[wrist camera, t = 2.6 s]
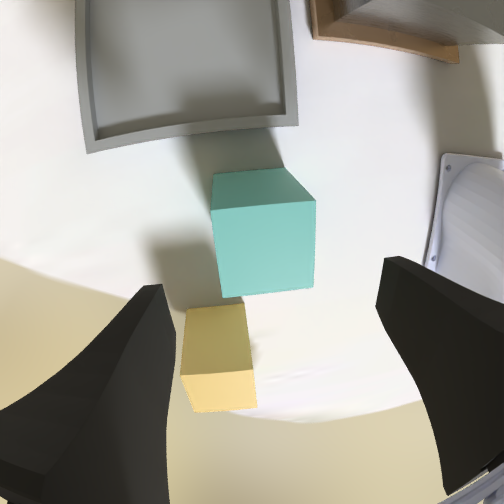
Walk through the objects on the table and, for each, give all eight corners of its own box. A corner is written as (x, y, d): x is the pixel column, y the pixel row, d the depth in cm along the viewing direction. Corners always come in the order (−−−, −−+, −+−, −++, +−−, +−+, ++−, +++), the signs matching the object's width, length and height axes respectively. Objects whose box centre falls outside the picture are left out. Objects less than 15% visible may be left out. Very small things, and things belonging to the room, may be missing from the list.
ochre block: (248, 343, 23) (257, 407, 17) (197, 348, 22) (194, 412, 17) (244, 302, 21) (253, 369, 15) (187, 308, 20) (179, 375, 15)
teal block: (286, 231, 18) (313, 287, 13) (221, 238, 18) (222, 298, 13) (284, 167, 17) (315, 200, 11) (213, 173, 16) (210, 210, 11)
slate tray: (291, 124, 15) (298, 126, 14) (97, 149, 15) (87, 154, 13) (277, -46, 10) (282, -57, 9) (86, -17, 10) (77, -24, 8)
